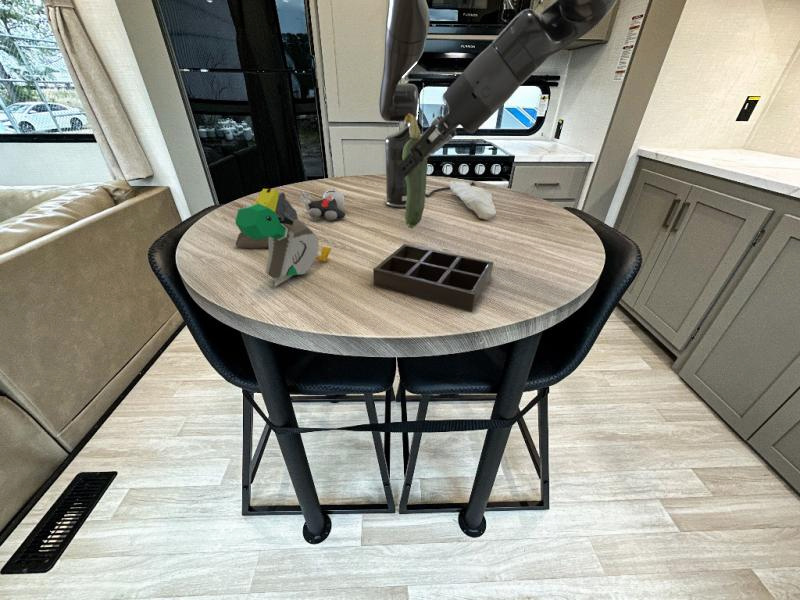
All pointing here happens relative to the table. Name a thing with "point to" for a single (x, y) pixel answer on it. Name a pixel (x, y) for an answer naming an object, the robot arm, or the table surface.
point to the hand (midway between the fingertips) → (404, 170)
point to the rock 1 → (281, 211)
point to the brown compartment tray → (434, 275)
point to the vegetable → (414, 177)
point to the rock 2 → (474, 199)
